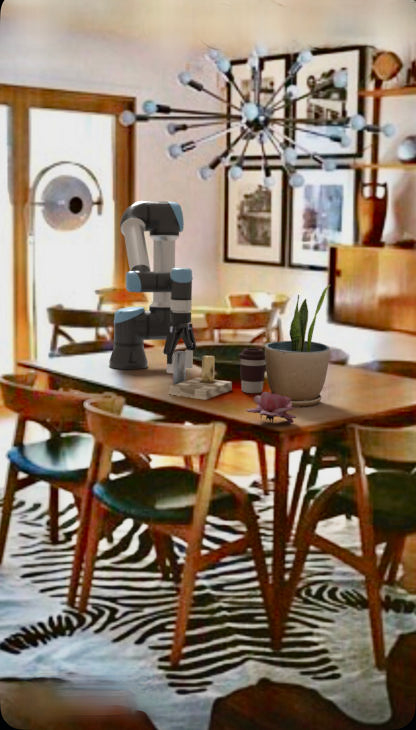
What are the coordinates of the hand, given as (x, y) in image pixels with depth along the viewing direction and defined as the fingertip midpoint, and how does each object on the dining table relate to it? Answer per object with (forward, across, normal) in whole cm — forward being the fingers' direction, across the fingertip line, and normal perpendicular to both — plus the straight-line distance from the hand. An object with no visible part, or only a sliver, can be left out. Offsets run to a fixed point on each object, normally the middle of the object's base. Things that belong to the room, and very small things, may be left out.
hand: (179, 370), depth 363 cm
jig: (+6, +8, +13) cm, 16 cm away
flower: (+6, +38, +53) cm, 65 cm away
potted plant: (+6, +5, +47) cm, 47 cm away
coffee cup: (+6, -4, +27) cm, 28 cm away
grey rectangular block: (+5, 0, 0) cm, 5 cm away
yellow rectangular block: (+6, +3, +13) cm, 14 cm away
